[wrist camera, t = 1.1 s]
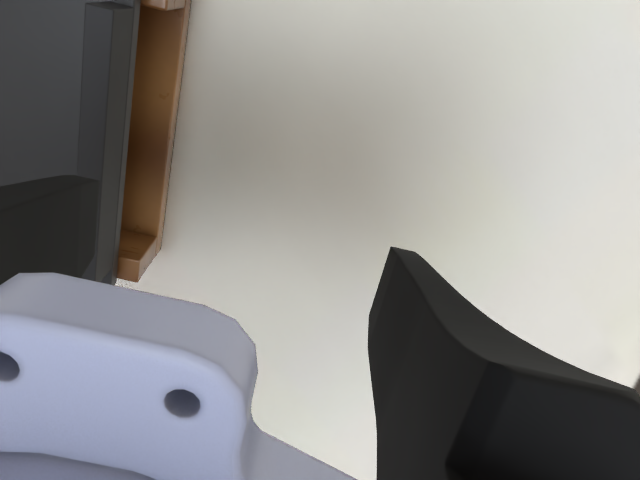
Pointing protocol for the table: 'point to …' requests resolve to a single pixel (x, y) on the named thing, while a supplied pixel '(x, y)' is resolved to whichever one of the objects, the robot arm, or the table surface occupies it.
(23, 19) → the lid
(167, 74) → the brown wooden shelf
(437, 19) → the table surface
